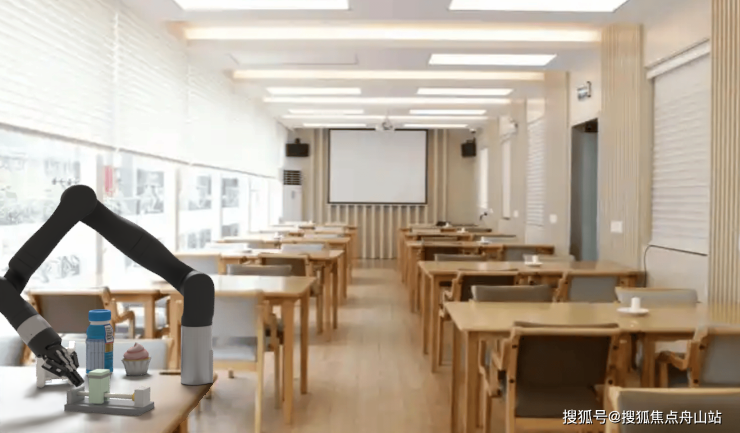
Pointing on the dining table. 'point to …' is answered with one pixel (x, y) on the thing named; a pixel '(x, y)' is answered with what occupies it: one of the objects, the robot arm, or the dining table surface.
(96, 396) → the notched mint block
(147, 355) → the cupcake
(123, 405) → the grey slide rail
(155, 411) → the dining table surface
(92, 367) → the beverage bottle
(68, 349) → the white plastic stand
